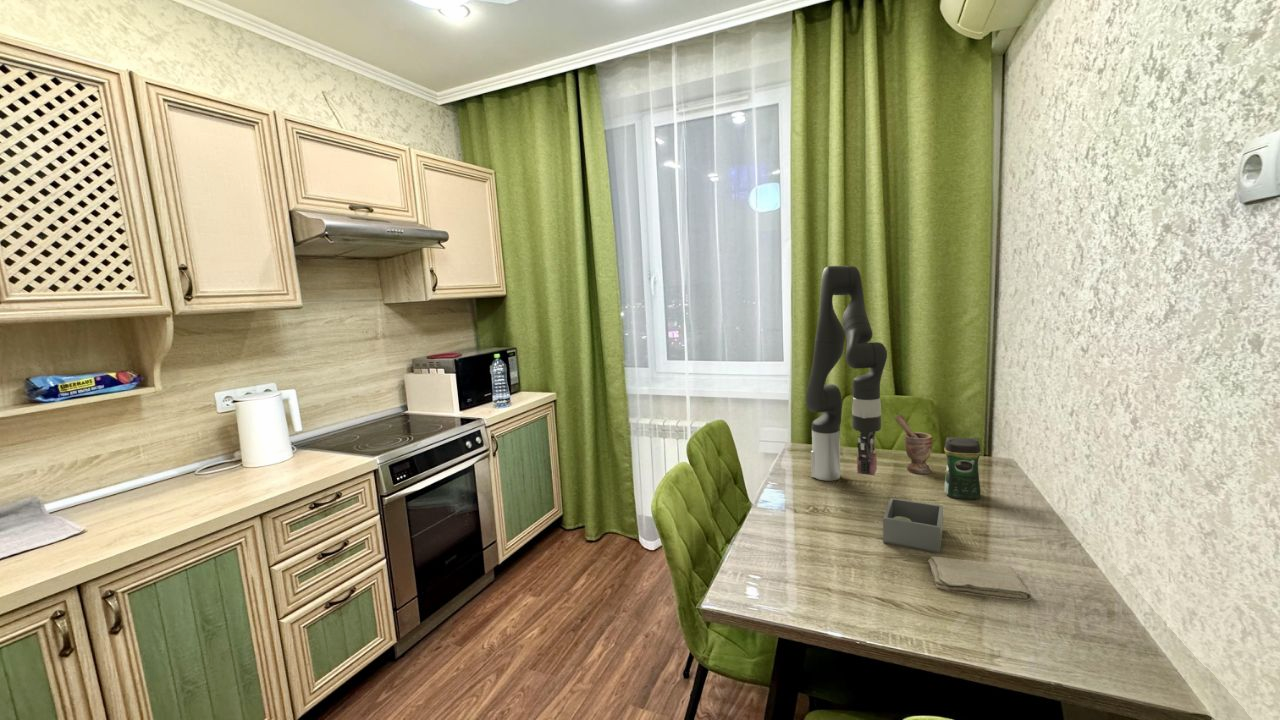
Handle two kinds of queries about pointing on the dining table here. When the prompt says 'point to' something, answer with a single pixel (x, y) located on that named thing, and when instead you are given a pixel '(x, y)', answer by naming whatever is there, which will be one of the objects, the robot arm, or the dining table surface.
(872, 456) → the pink cube
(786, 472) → the dining table surface
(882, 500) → the dining table surface
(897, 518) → the green cylinder
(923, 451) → the mortar and pestle
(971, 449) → the coffee jar
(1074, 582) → the dining table surface
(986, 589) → the washcloth
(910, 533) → the bin
